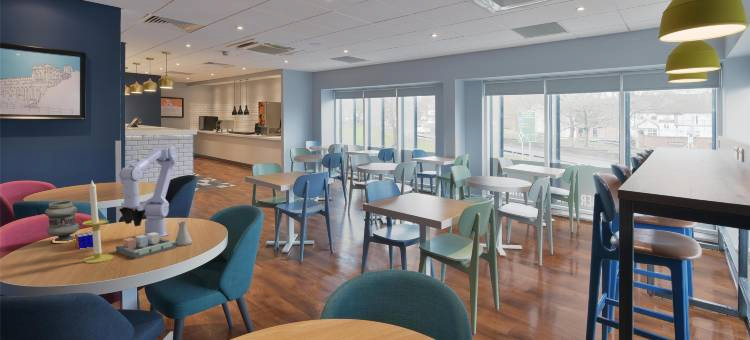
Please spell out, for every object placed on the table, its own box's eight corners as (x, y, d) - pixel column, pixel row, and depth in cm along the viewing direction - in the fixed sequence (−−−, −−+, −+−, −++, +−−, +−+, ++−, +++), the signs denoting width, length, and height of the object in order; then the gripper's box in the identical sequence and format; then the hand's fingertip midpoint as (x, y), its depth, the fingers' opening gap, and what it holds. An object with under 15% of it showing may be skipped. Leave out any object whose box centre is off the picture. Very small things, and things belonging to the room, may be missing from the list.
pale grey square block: (147, 242, 180) (147, 233, 180) (154, 240, 183) (154, 232, 183) (152, 244, 178) (151, 235, 178) (159, 242, 181) (159, 233, 180)
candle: (90, 265, 156) (83, 182, 152) (78, 260, 161) (71, 179, 157) (117, 257, 165) (112, 178, 160) (105, 253, 170) (99, 176, 166)
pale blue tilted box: (135, 245, 176) (135, 236, 176) (143, 243, 179) (142, 234, 178) (140, 247, 174) (140, 238, 174) (148, 245, 177) (147, 236, 176)
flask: (185, 246, 179) (184, 224, 178) (171, 245, 181) (169, 223, 180) (195, 241, 186) (194, 220, 185) (181, 240, 188) (180, 219, 187)
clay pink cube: (123, 248, 172) (123, 239, 172) (131, 246, 175) (131, 237, 174) (128, 250, 170) (127, 240, 170) (136, 248, 173) (135, 239, 172)
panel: (116, 251, 172) (115, 244, 172) (156, 241, 186) (155, 234, 186) (135, 258, 163) (135, 251, 163) (175, 247, 178) (175, 240, 177)
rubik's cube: (76, 246, 178) (75, 234, 177) (91, 243, 182) (90, 231, 182) (79, 249, 174) (78, 236, 174) (94, 246, 178) (93, 234, 178)
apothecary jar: (41, 242, 183) (37, 203, 181) (70, 235, 194) (66, 198, 192) (58, 246, 178) (54, 206, 176) (86, 238, 189) (83, 201, 187)
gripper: (113, 194, 178) (115, 224, 180) (130, 197, 171) (132, 228, 172) (130, 191, 184) (131, 221, 186) (147, 195, 176) (148, 225, 178)
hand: (133, 224), depth 179 cm, fingers open, 7 cm apart
